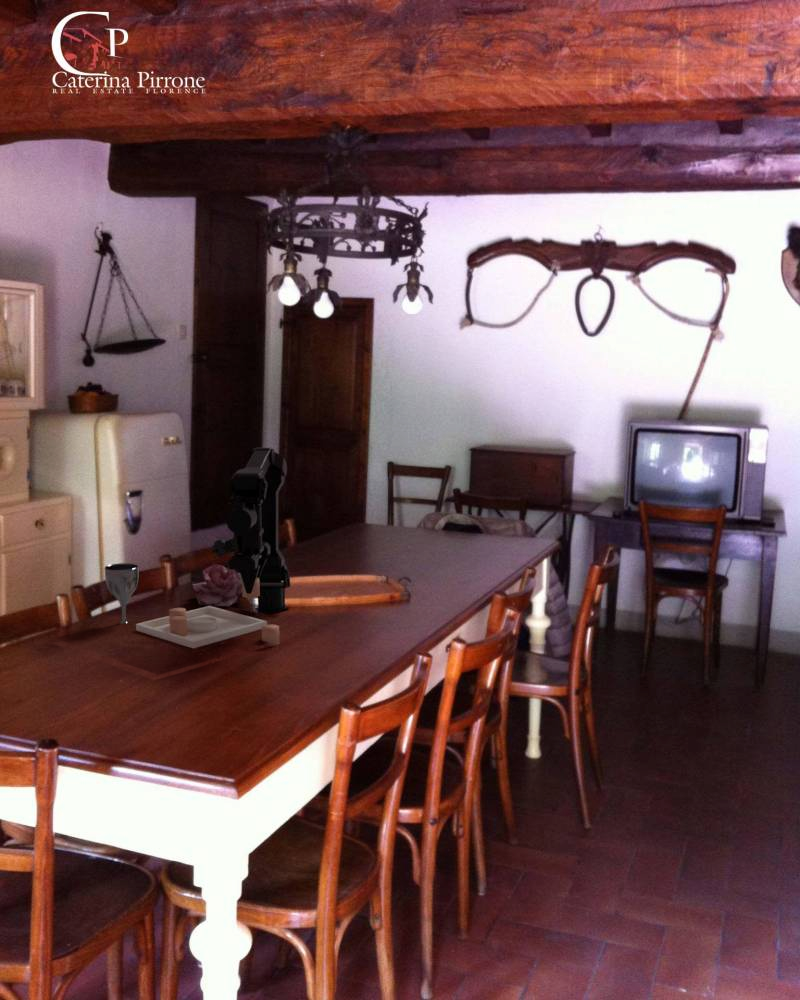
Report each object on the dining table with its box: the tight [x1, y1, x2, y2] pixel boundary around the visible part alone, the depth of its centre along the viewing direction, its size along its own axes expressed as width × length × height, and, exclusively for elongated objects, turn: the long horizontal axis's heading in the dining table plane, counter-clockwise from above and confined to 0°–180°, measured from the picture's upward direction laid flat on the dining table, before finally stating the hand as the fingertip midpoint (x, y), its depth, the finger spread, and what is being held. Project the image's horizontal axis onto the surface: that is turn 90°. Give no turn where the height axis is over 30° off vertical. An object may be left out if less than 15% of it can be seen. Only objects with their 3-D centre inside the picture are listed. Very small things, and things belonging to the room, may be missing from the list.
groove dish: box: [135, 605, 268, 649], centre depth 241 cm, size 22×22×3 cm
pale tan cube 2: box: [261, 624, 280, 647], centre depth 232 cm, size 4×4×4 cm
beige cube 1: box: [242, 578, 260, 599], centre depth 236 cm, size 4×4×4 cm
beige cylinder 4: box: [168, 607, 187, 622], centre depth 243 cm, size 4×4×4 cm
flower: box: [191, 563, 243, 607], centre depth 266 cm, size 15×15×10 cm
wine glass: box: [104, 562, 140, 625], centre depth 246 cm, size 8×8×15 cm
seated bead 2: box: [170, 616, 188, 637], centre depth 236 cm, size 4×4×4 cm
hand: (250, 591), depth 236 cm, fingers closed on beige cube 1, 4 cm apart
